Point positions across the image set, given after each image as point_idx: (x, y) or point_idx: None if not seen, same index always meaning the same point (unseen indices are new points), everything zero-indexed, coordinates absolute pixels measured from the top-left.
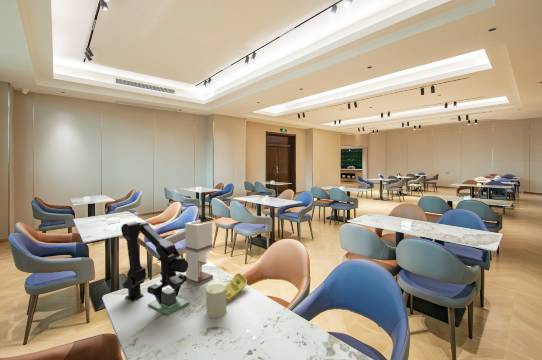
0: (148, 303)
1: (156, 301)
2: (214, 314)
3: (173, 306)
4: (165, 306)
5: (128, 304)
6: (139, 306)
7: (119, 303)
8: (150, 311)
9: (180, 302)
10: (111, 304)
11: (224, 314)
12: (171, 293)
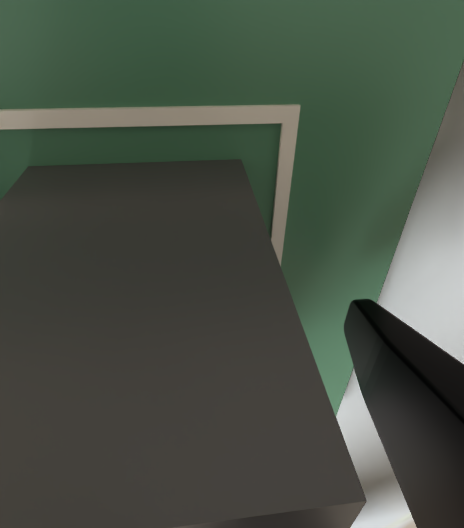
0: None
1: None
2: None
3: (178, 56)
4: (284, 221)
5: (374, 482)
6: (370, 430)
7: (383, 508)
8: (426, 297)
9: None
10: (409, 515)
11: None
12: (150, 503)
